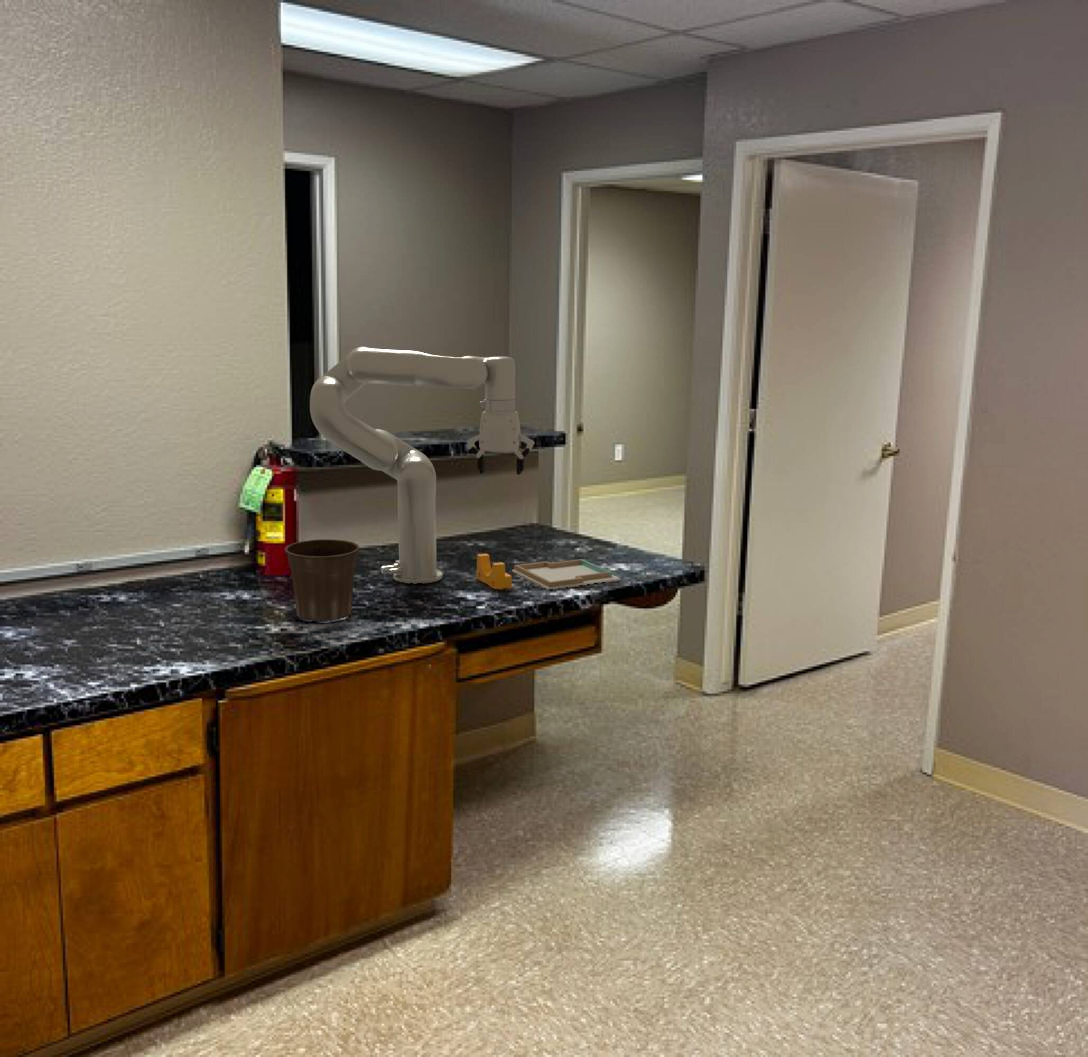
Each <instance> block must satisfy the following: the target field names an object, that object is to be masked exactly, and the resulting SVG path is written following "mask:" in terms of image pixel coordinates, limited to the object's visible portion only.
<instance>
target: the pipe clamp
mask: <svg viewBox="0 0 1088 1057" xmlns="http://www.w3.org/2000/svg"><path fill="white" fill-rule="evenodd" d="M476 577H477V580H479V581H481V582H482V583H484V584H485V583H486V585H487V584H488V585H489V586H488V585H487V586H488V587H490V588H492V589H493V588H494V589H493V590H495V589H499V590H504V589H503V588H507V589H512V588H513V587H512V584H513V583H512V579H513V577H512V575H511V574H509V573H507V572H506V563H504V562H501V561H500V562H493V563H492V564H491V559H490V555H489V554H488V553H479V554H477V555H476Z"/></svg>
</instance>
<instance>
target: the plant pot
mask: <svg viewBox="0 0 1088 1057" xmlns="http://www.w3.org/2000/svg"><path fill="white" fill-rule="evenodd" d="M359 550H360V546H359V544H357V543H355V542H354V541H349V540H344V539H343V540H342V539H328V538H327V539H326V538H325V539H323V538H322V539H310V540H304V541H298V542H294V543H293V542H292V543H291V544H289V545H286V547H284V552H285V553H286V554H287V559H288V566H289V568H290V571H291V579H292V587H293V595H294V602H295V611H296V613H295V614H296V617H297V616H298V617H299V618H302V619H305V620H316V621H320V620H321V621H327V620H336V619H340V618H344V617H347V616H349V615H350V614H351V615H352V610H353V609H352V607H353V593H354V592H353V591H354V577H355V566H357V557H358V551H359ZM349 617H350V616H349ZM316 621H315V622H316Z"/></svg>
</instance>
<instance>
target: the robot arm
mask: <svg viewBox="0 0 1088 1057" xmlns="http://www.w3.org/2000/svg"><path fill="white" fill-rule="evenodd" d="M515 364H516V363H515V360H514V358H512V357H510V356H489V357H484V356H483V357H482V356H481V357H480V356H476V355H475V356H474V355H465V356H462V357H460V356H459V357H455V356H444V355H443V356H442V355H435V354H430V353H424V352H421V351H417V350H416V351H415V350H401V349H400V350H399V349H387V348H386V349H382V348H370V347H367V346H360V347H359V346H358V347H356V348H354V349H353V350H351V351H350V352H349V353H348V354H346V355H345V357H343V358H342V359H340V361H339V362H337V363H336V364H335V365H333V366H332V367H331V368H330V369H329V370H328V371H327V372H325V373H324V374H323V375H321V377H319V378H318V379H317V380H315V382H314V384H313V385H312V388H311V391H310V395H309V412H310V417H311V421H312V423H313V425H314V426H315V429H316V430H317V431H318V433H319V434H320V435H321V436H322V437H323V438H325V439H326V440H328V441H329V442H330V443H332V444H333V445H334V446H336V447H338V448H340V449H341V450H342V451H344V452H345V453H347V454H349V455H350V456H351V457H353V458H355V459H356V460H358V461H360V462H362V463H363V464H364V465H365V466H367V467H368V468H369V469H372V470H374V471H382V472H383V473H385V474H386V475H388V476H389V477H391V478H393V479H395V480H396V482H397V483H396V484H397V520H398V521H397V524H398V525H397V526H398V530H397V532H398V560H397V559H396V560H395V563H393V564H392V565H382V566H380V572H381V574H382V575H383V574H389V575H393V576H392V577H393V579H394V581H396V582H398V581H399V582H398V583H402V582H403V583H404V584H410V583H413V584H416V585H417V583H422V584H430V583H435V582H438V581H440V580H442V579H443V577H444V576H443V574H444V573H443V571H441V570H439V569H438V568H437V518H436V515H437V514H436V512H437V511H436V509H437V508H436V506H437V505H436V500H437V498H436V496H437V475H436V470H435V467H434V465H433V462H432V461H431V460H430V459H429V458H428V457H427V455H426V454H424V453H423V452H421V451H420V450H418V449H416V447H414V446H412V445H410V444H408V443H407V442H405V441H404V440H402V439H401V438H399V437H397V436H396V435H394V434H393V433H391V432H390V431H387V430H384V429H379V428H373V427H371V426H370V425H368V424H367V423H364V422H363V421H362V420H361V419H359V418H357V417H356V416H354V415H352V414H351V413H350V412H349V411H348V410H347V408H346V406H345V405H346V404H345V403H346V401H347V400H349V398H351V397H352V396H353V395H354V394H356V393H357V392H358V391H359V390H360V389H361V388H362V387H364V386H365V385H366V384H376V385H395V386H397V385H398V386H408V387H409V386H410V387H432V388H433V387H434V388H445V389H446V388H447V389H448V388H449V389H450V388H451V389H452V388H453V389H466V390H467V389H468V390H474V389H479V388H480V387H482V385H484V397H485V398H484V399H483V401H482V400H480V401H479V407H481V408H484V411H482V412H481V414H480V416H481V417H480V424H479V433H478V434H477V435H475V436H473V437H471V438H469V439H467V440H466V443H467V445H468V447H469V448H470V451H471V453H473V454H474V456H475V457H476V459H477V470H479V474H484V473H485V472H486V457H485V456H484V455H485V453H486V452H490V453H491V452H492V453H493V452H494V453H496V452H497V453H514V454H515V455H516V457H517V459H516V475H519V476H520V475H521V474H522V473H523V472H524V471H525V458H526V456H527V455H528V454H530V452H531V451H532V449H533V447H534V445H535V441H534V440H533V439H531V438H529V437H527V436H525V435H523V434H522V433H521V423H520V416H519V413H518V411H516V366H515ZM477 441H478V442H479V444H478V445H479V448H478V447H477V446H476V445H475V442H477ZM522 442H523V443H525V444H526V448H525V449H523V450H522V448H521V447H522Z"/></svg>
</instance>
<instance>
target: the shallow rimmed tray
mask: <svg viewBox="0 0 1088 1057" xmlns="http://www.w3.org/2000/svg"><path fill="white" fill-rule="evenodd" d="M513 568H514V569H512V570H511V572H512V573H514V574H516V575H518V576H520V577H521V578H523V579H525V580H527V581H529V582H531V583H532V584H535V585H537V586H539V585H540V586H539V587H541V588H543V589H544V588H545V590H546V589H547V591H550V590H549V589H553V590H559V589H558V588H561V589H567V588H566V587H568V588H574V587H580V586H579V585H583V586H588V585H587V584H590V585H595V584H594V583H598V584H603V583H602V582H605V583H611V582H618V581H621V578H620V577H618V576H617V575H614V574H613V572H612V571H610V570H608V569H606V568H603V567H601V566H599V565H597V564H594V563H592V562H590V561H587V560H585V559H582V558H580V559H572V560H564V561H557V562H556V561H555V562H549V561H547V560H545V561H538V562H530V563H522V564H521V563H520V564H514V565H513Z"/></svg>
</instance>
